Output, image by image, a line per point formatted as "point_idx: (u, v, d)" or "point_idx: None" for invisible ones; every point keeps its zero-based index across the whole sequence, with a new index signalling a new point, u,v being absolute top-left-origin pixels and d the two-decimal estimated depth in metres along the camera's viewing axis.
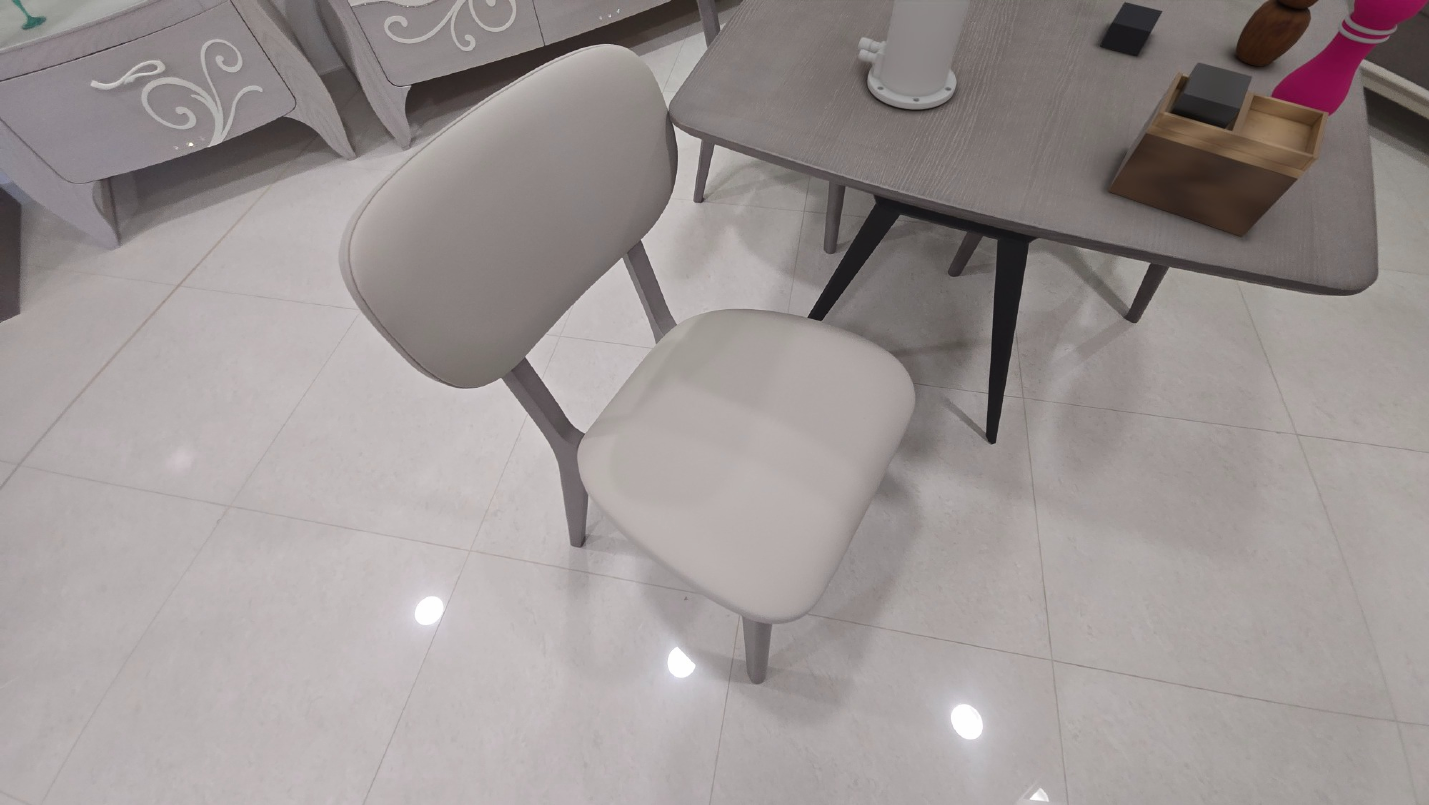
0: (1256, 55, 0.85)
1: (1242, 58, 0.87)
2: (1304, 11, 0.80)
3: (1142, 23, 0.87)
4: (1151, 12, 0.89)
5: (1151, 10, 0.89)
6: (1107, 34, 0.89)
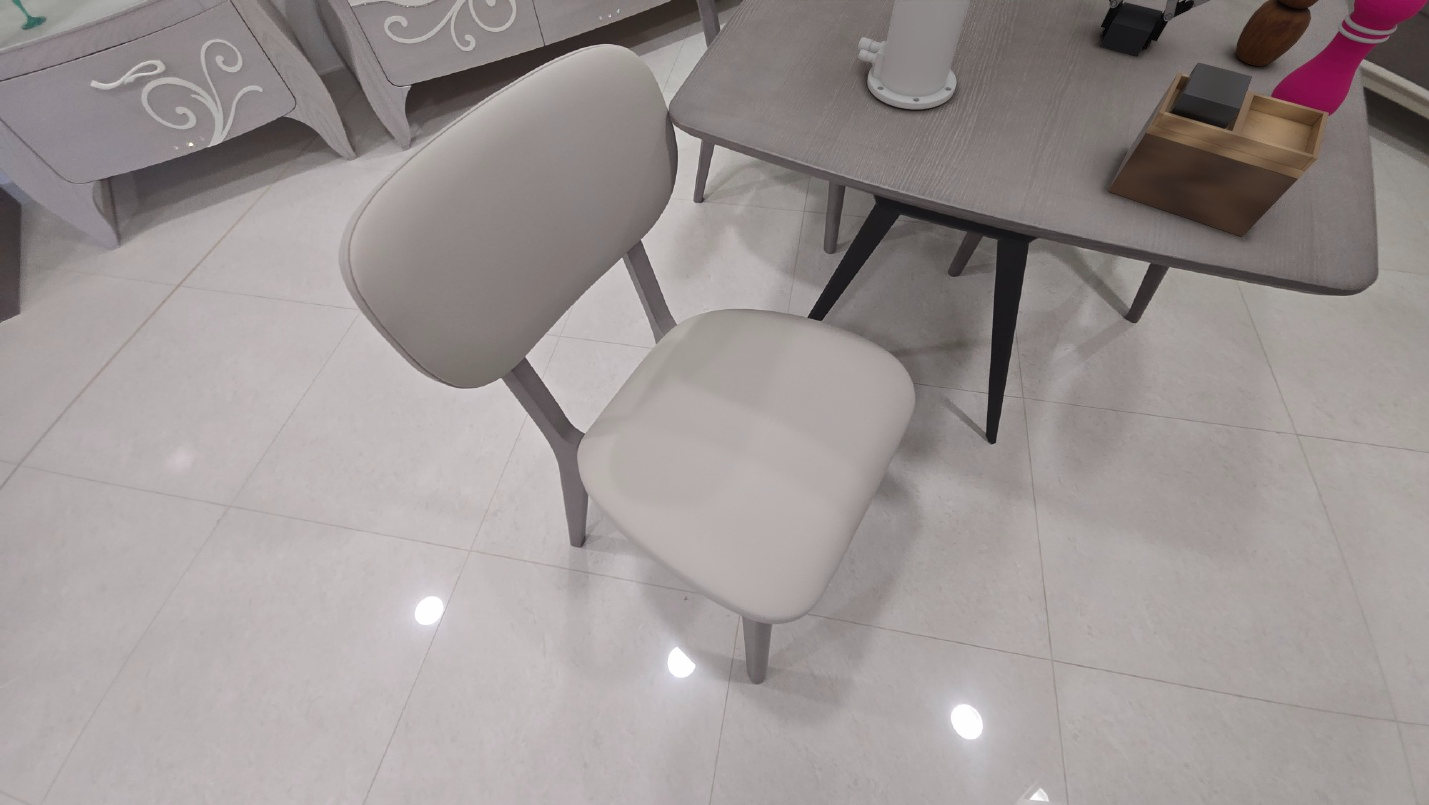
0: (1256, 55, 0.85)
1: (1242, 58, 0.87)
2: (1304, 11, 0.80)
3: (1142, 23, 0.87)
4: (1151, 12, 0.89)
5: (1151, 10, 0.89)
6: (1107, 34, 0.89)
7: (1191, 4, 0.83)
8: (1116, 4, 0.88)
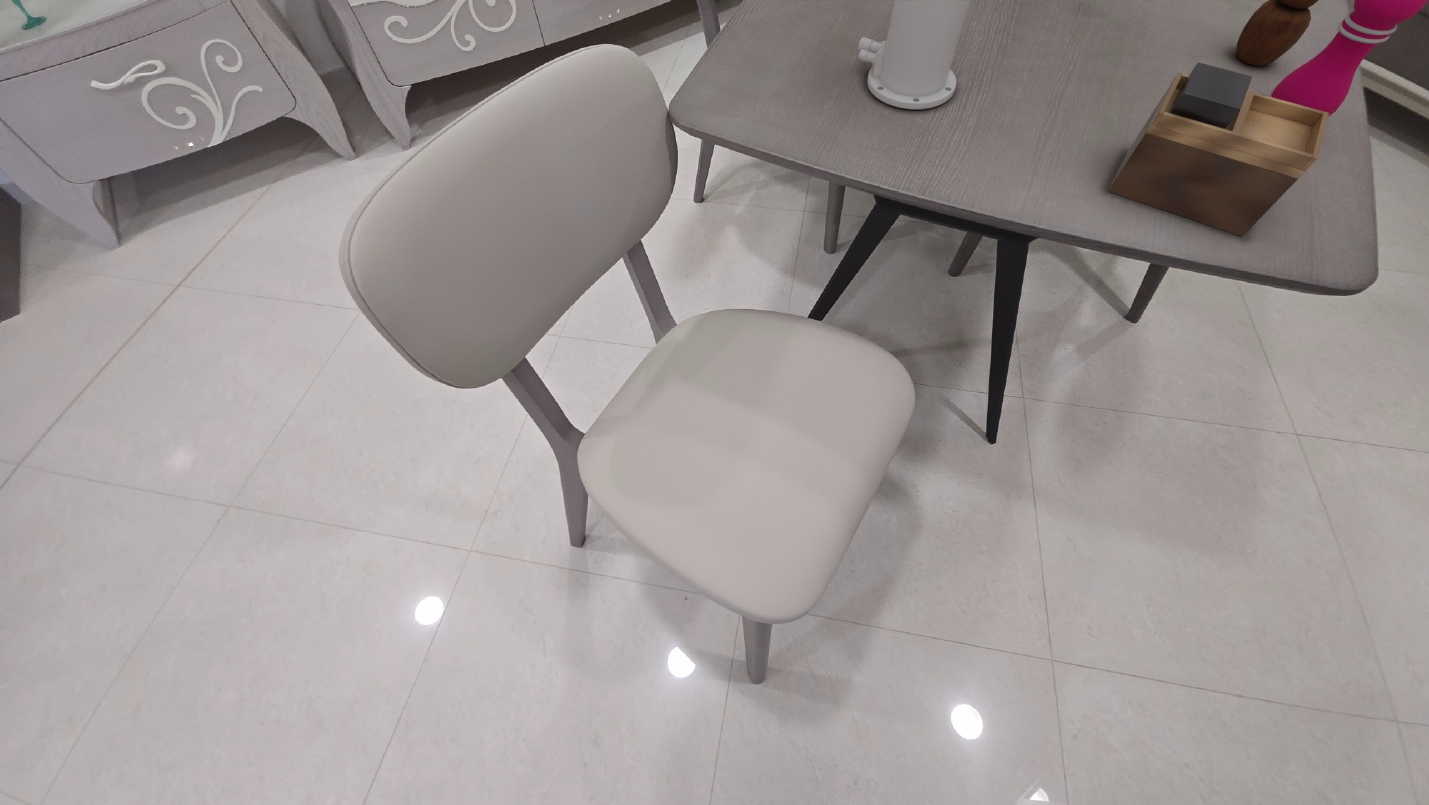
0: (1256, 55, 0.85)
1: (1242, 58, 0.87)
2: (1304, 11, 0.80)
3: None
4: None
5: None
6: None
7: None
8: None
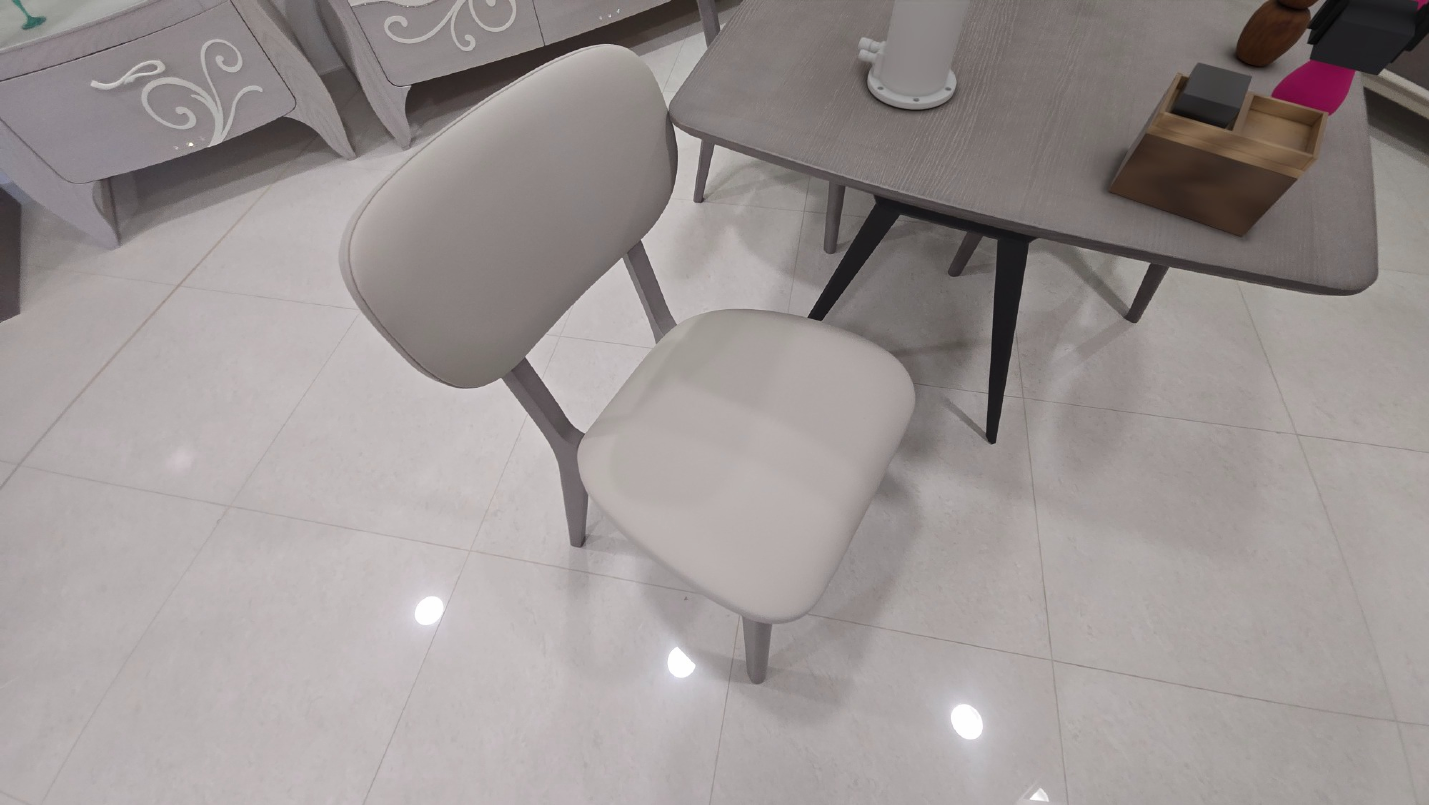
0: (1256, 55, 0.85)
1: (1242, 58, 0.87)
2: (1304, 11, 0.80)
3: (1392, 21, 0.53)
4: (1401, 4, 0.54)
5: (1399, 0, 0.54)
6: (1327, 40, 0.54)
7: None
8: None
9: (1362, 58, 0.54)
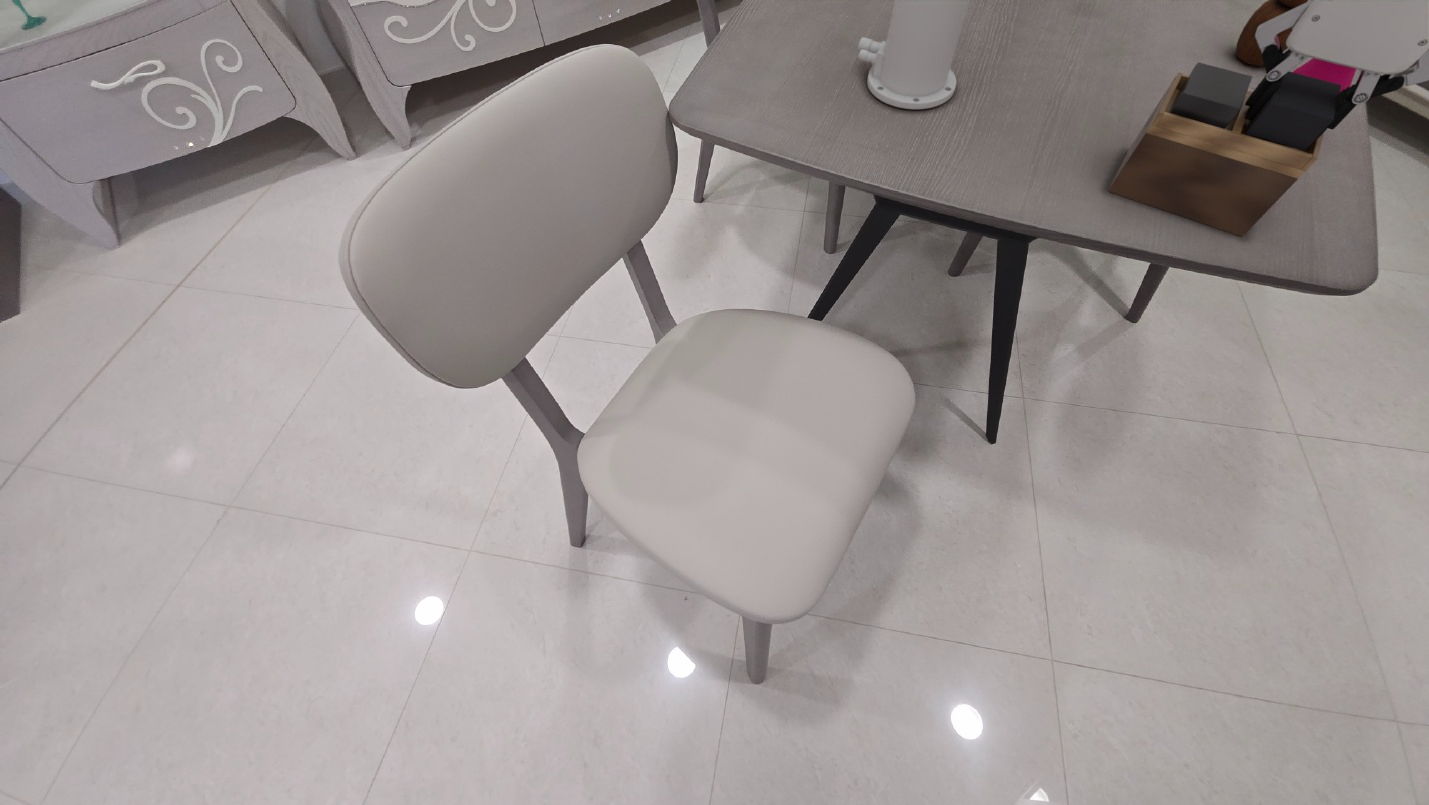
0: (1256, 55, 0.85)
1: (1242, 58, 0.87)
2: None
3: (1316, 105, 0.59)
4: (1326, 87, 0.61)
5: (1325, 83, 0.61)
6: (1260, 118, 0.61)
7: (1401, 82, 0.56)
8: (1277, 76, 0.60)
9: (1290, 135, 0.61)
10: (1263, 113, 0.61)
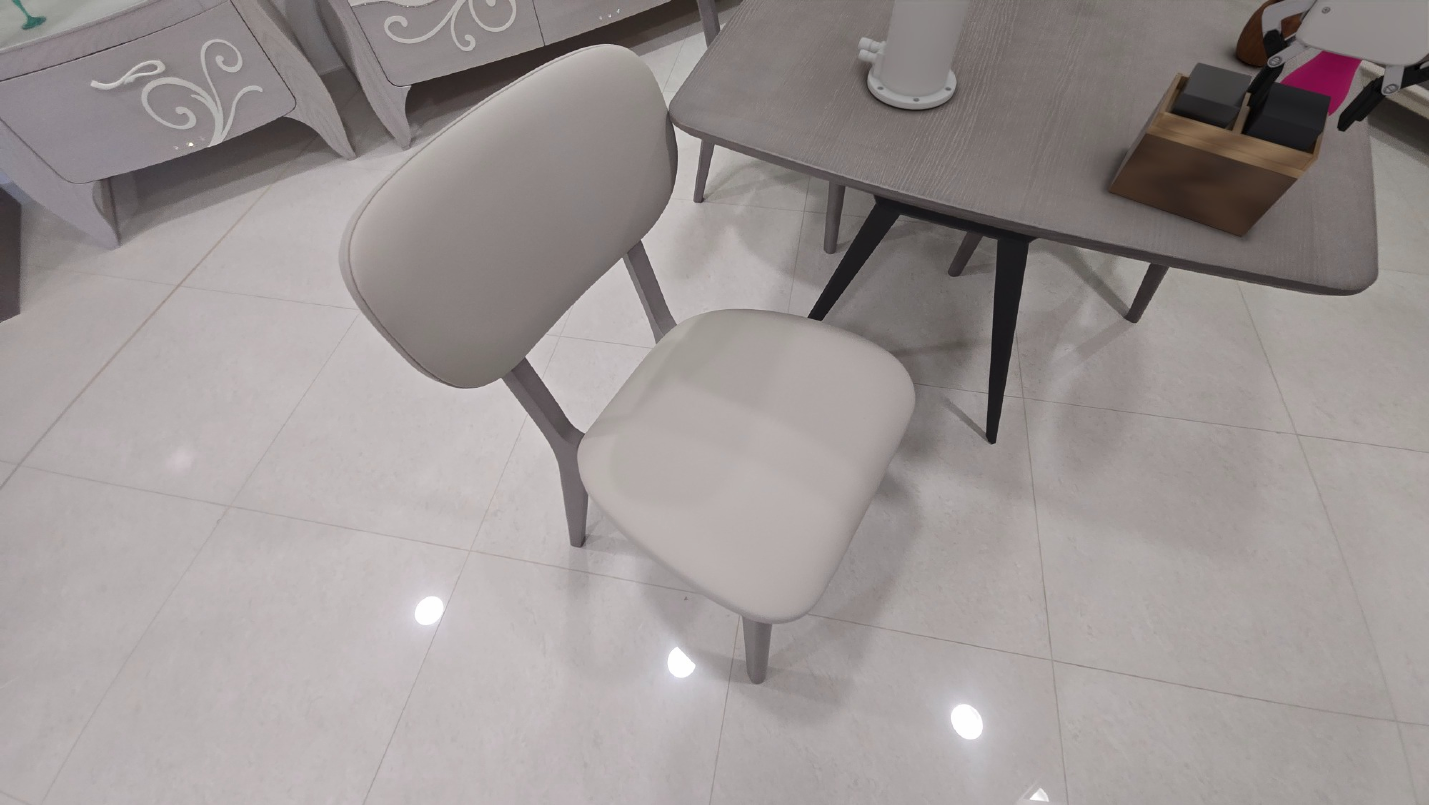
0: (1256, 55, 0.85)
1: (1242, 58, 0.87)
2: None
3: (1306, 116, 0.60)
4: (1316, 99, 0.62)
5: (1315, 95, 0.62)
6: (1252, 129, 0.62)
7: None
8: (1279, 62, 0.59)
9: None
10: (1254, 124, 0.62)
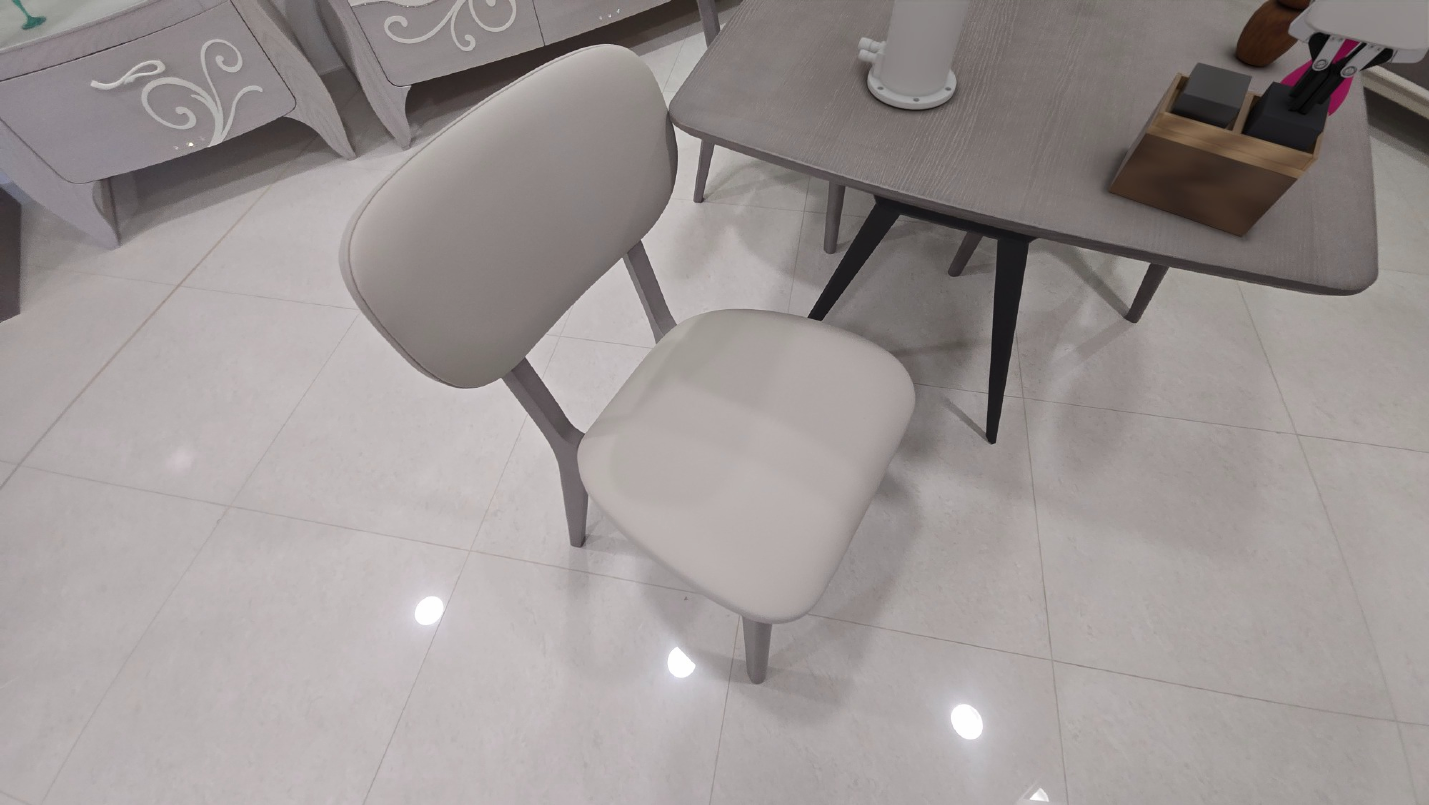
0: (1256, 55, 0.85)
1: (1242, 58, 0.87)
2: None
3: (1306, 116, 0.60)
4: None
5: None
6: (1252, 130, 0.62)
7: (1389, 56, 0.55)
8: (1324, 65, 0.57)
9: None
10: (1254, 124, 0.62)
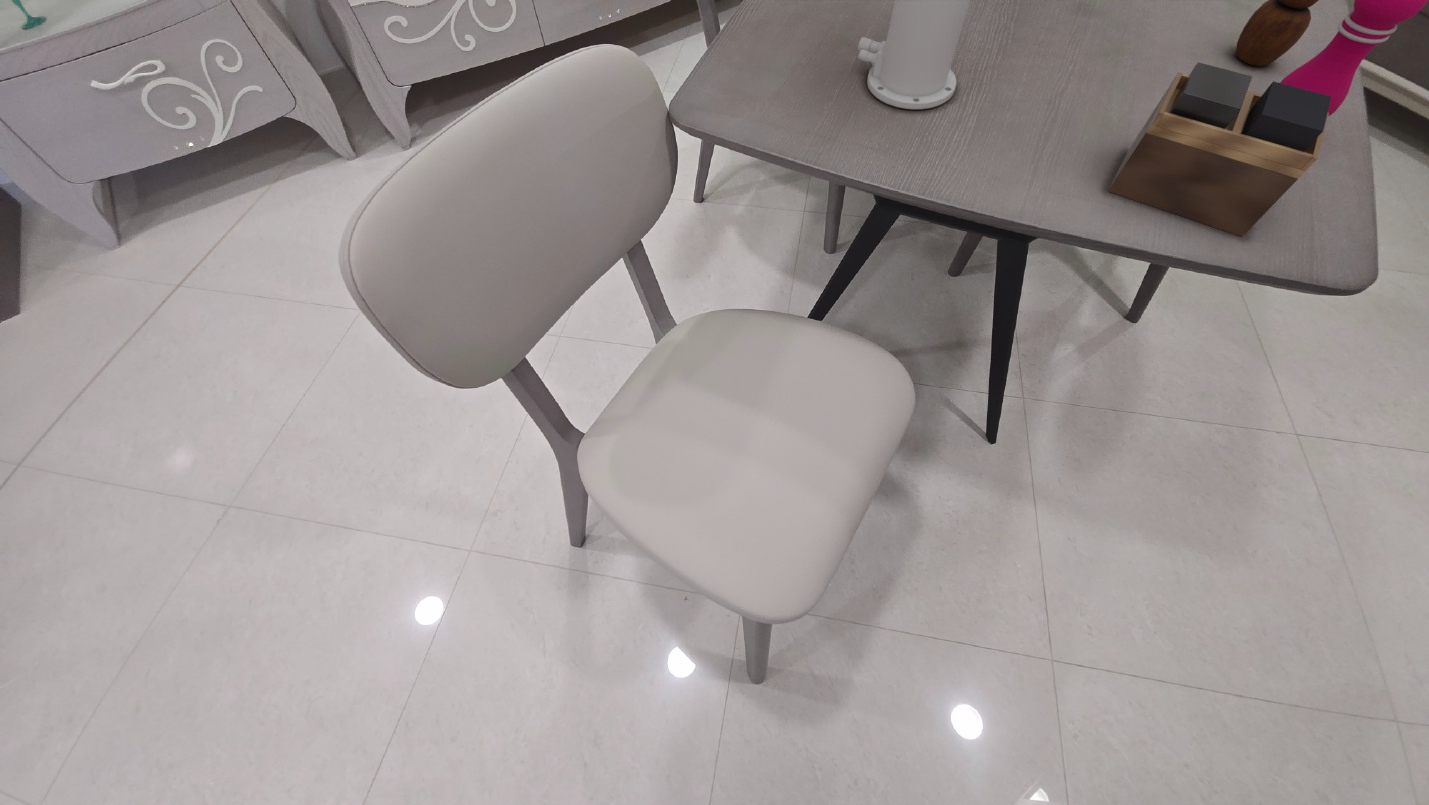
0: (1256, 55, 0.85)
1: (1242, 58, 0.87)
2: (1304, 11, 0.80)
3: (1306, 116, 0.60)
4: (1316, 99, 0.62)
5: (1315, 95, 0.62)
6: (1252, 129, 0.62)
7: None
8: None
9: None
10: (1254, 124, 0.62)
